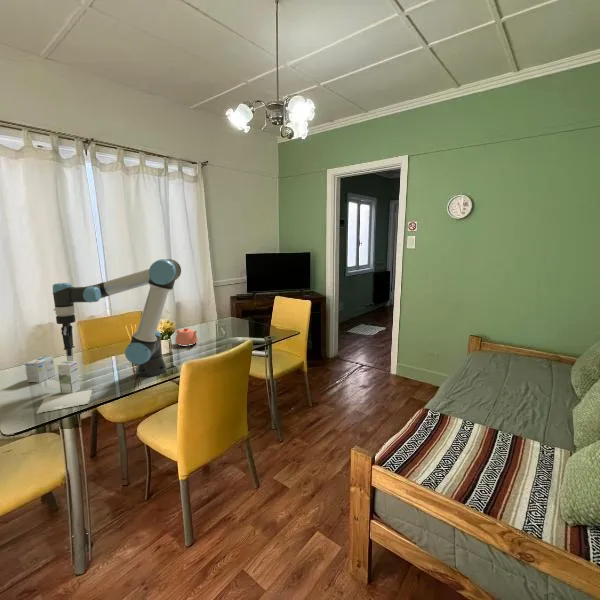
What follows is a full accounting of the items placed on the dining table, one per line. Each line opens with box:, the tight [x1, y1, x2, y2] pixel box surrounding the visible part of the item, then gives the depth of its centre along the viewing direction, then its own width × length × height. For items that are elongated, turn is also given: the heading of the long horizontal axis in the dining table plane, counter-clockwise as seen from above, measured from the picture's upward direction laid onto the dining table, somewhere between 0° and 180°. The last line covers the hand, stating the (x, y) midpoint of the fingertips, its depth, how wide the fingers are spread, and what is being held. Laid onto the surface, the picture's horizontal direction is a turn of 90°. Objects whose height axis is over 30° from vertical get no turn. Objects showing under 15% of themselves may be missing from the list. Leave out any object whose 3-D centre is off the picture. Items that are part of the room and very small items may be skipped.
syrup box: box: [57, 360, 81, 395], centre depth 153 cm, size 6×6×14 cm
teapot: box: [174, 327, 199, 345], centre depth 230 cm, size 22×15×12 cm
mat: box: [35, 389, 93, 415], centre depth 144 cm, size 18×16×1 cm
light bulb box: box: [24, 356, 56, 384], centre depth 169 cm, size 11×7×11 cm, turn 178°
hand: (70, 361), depth 160 cm, fingers closed
